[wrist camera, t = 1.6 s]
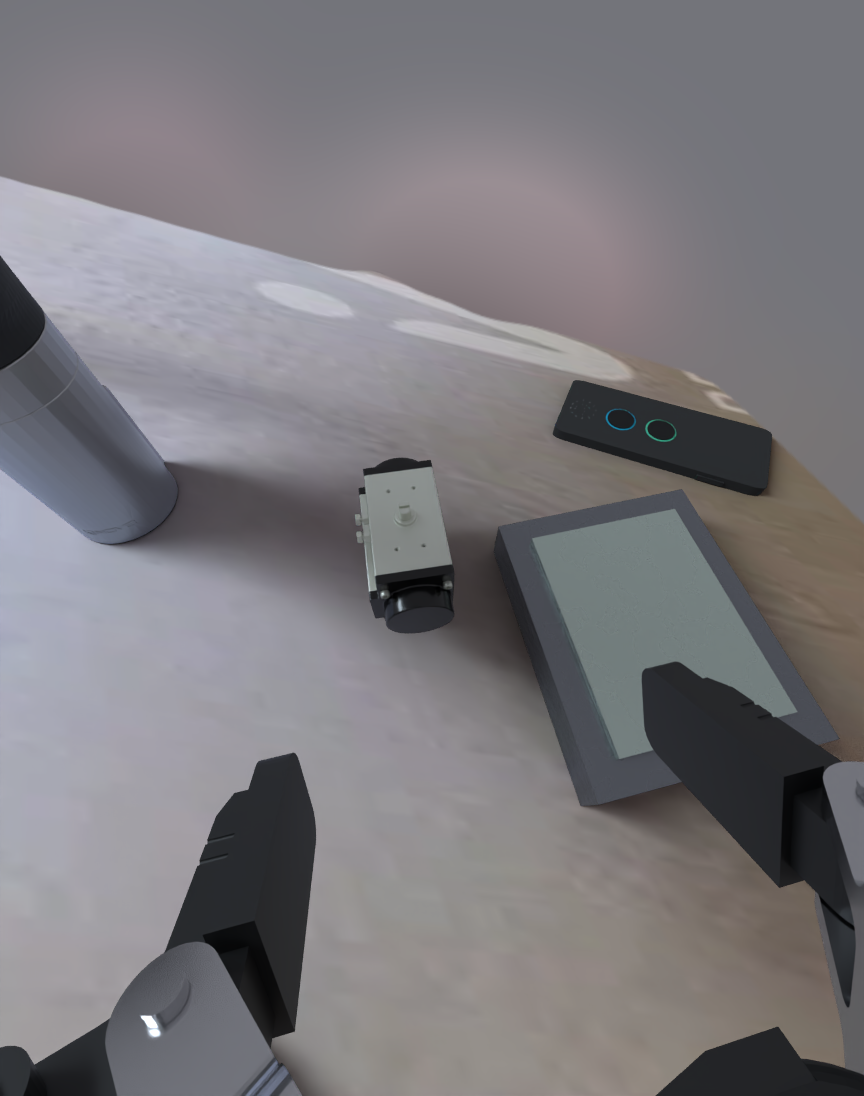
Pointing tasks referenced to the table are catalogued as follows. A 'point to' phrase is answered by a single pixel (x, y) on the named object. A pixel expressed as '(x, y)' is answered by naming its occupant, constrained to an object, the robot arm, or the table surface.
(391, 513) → the pneumatic valve
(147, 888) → the table surface
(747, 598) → the grey picture frame
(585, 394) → the smart home device
